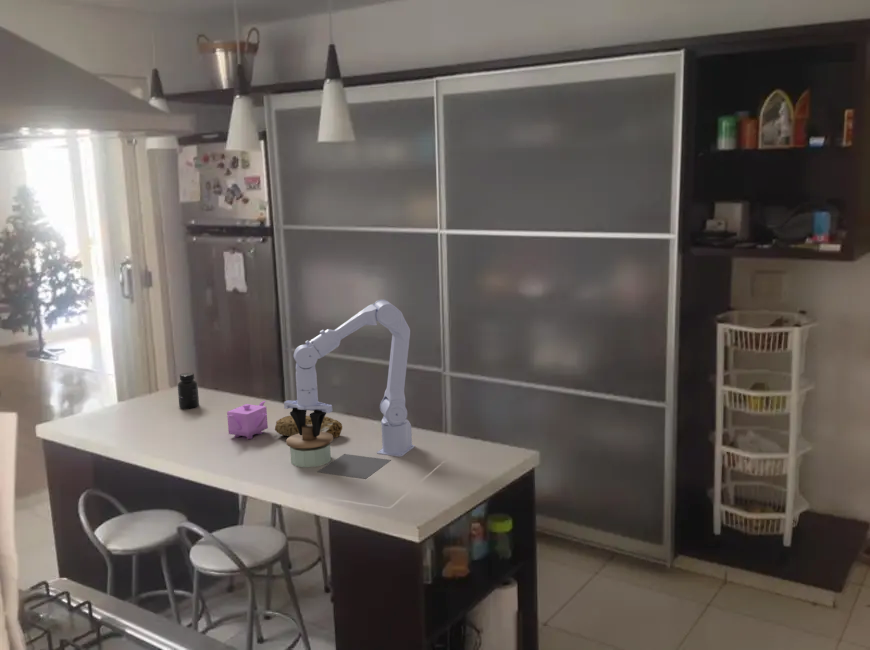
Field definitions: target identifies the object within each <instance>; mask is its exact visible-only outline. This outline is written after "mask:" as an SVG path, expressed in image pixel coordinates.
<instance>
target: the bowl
mask: <svg viewBox="0 0 870 650" xmlns="http://www.w3.org/2000/svg"><path fill="white" fill-rule="evenodd" d="M289 450H290V452H289V453H290V463H291V465H293V466H295V467H299V468H300V467H301V468H316V467H320V466H324V465H327V464H329V463H330V462H332V461H331V459H332V458H331V443H329V444H327V445H324V446H321V447H316V448H307V449H300V448H292V447H289Z"/></svg>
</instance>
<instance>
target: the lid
mask: <svg viewBox="0 0 870 650" xmlns="http://www.w3.org/2000/svg"><path fill="white" fill-rule="evenodd" d="M333 440H334V438H333V435H332V434H330V433H327V432H320V435H319V436H317V437H314V436H313V426H312V424H308V425H304V426H302V435H300V434H295V435H293V436H288V437H287V439H286V442H285V443H286V446H288V447H289V448H290V447H292V448H300V449H307V448H316V447H321V446H324V445H327V444H329V443H330V444H331V443H332V442H333Z"/></svg>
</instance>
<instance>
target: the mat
mask: <svg viewBox="0 0 870 650" xmlns="http://www.w3.org/2000/svg"><path fill="white" fill-rule="evenodd" d="M390 461H392V459H387V458H378V457H371V456H363V455H355V454H350V453H349V454H348V453H344V454H342V455H340V456H339V457H338V458H335V459H334V460H332V461H330V462H329V463H327V464H326V466H324V467H322V468H321V469H319V470H318V471H316V472H317V473H320V474H326V475H327V474H328V475H335V476H343V477H347V478H348V477H349V478H356V479H363V480H364V479H365V480H366V479H368V478H369V477H370V476H373V474H375V473H376V472H377V471H379V470H380V469H381V468H383V467H384V466H385V465H387V464H388V463H389V462H390Z"/></svg>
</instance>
